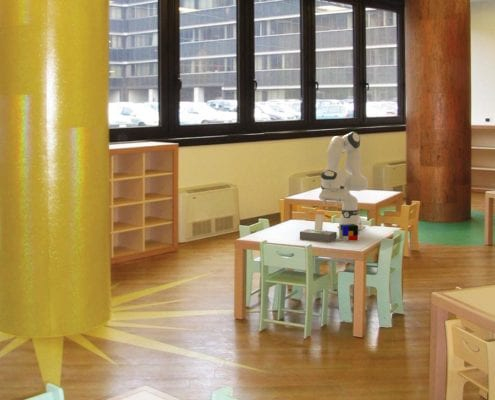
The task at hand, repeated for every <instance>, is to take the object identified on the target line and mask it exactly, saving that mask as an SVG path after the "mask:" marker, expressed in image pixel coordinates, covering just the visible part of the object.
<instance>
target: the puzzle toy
mask: <svg viewBox="0 0 495 400" xmlns="http://www.w3.org/2000/svg"><path fill="white" fill-rule="evenodd" d="M338 224H339V223H338ZM338 226H339V228H338V229H339V230H338V235H339V237H338V239H340V240H341V241H343V242H350V241H351V242H352V241H353V242H355V241H359V230H358V226H357V225H355V224H339V225H338Z"/></svg>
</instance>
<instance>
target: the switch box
mask: <svg viewBox="0 0 495 400" xmlns="http://www.w3.org/2000/svg"><path fill="white" fill-rule="evenodd" d="M337 234H338V233H337V231H331V230H325V229H324V230H323V229H322V231H319V230H315V229H310V228H308V229H307V228H306V229H304V230H301V231H299V240H305V239H306V240H307V241H317V242H324V241H326V243H330V242H333V241H335V240H337V237H338V236H337Z"/></svg>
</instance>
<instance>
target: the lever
mask: <svg viewBox="0 0 495 400" xmlns="http://www.w3.org/2000/svg"><path fill="white" fill-rule="evenodd" d="M314 215H315V218H314V219H315V221H314V230H319V231H322V230H323V225H324V224H323V223H324V215H325V211H321V210H315V211H314Z"/></svg>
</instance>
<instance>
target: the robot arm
mask: <svg viewBox="0 0 495 400" xmlns="http://www.w3.org/2000/svg"><path fill="white" fill-rule="evenodd" d="M360 145H361V136H360V135H359V133H358V132H355V131H351V132H349V133H346V134H344V135H343V136H339V135H336V136H333V137H332V138H331V140H330V141H329V144H328V146H327V151H326V160H327V169H325V170H323V171H322V172H321V174H320V183H321V184H320V189H321V192H320V193H319V195H318V198H319V200H320V201H323V203H322V204H323V206H326V205H327V202H334V203H333V205H334V206H338V204H339V203H341V204H342V206H341V207H342V208H341V215H340V216H339V221H338V222H339V223H338V224H355V225H357V226H358V231H359V230H360V231H362V230H364V228H366V225H363V219H362V218H361V216H360V214H359V213H360V209H358V198H357V197H356V196H355V195H353V194H351V193H350V192H362V191H366V190H367V189H368V187H369V181H368V178H367V177H366V176H364V175H363V173H362V172H361V164H362V152H361V151H362V150H361V149H360ZM344 153H346V159H345V165H344V169H337V168H338V166H339V163H340V160H341V157H342V155H343V154H344ZM337 228H338V229H339V225H337Z"/></svg>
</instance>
